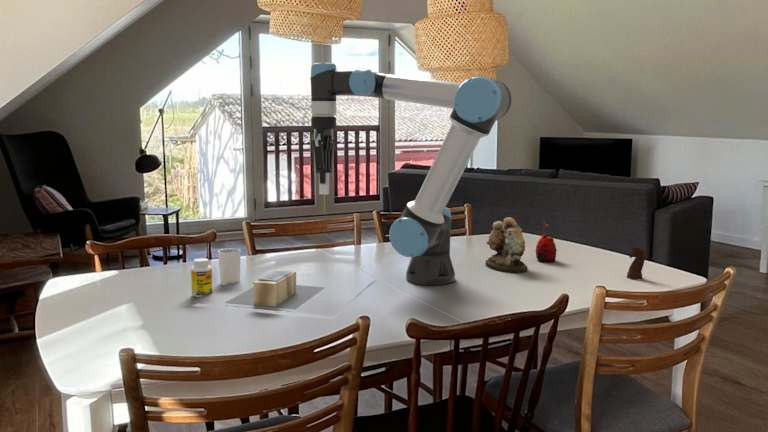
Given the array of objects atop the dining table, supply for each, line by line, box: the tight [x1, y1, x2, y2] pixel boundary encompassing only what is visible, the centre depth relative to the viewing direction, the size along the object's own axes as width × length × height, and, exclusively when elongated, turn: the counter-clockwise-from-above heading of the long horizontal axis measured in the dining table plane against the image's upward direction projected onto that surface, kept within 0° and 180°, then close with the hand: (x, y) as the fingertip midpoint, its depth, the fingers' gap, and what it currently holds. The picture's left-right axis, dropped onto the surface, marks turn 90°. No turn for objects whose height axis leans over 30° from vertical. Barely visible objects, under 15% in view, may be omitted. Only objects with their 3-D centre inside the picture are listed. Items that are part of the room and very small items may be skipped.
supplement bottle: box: [190, 257, 213, 298], centre depth 177 cm, size 6×6×10 cm
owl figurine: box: [485, 216, 528, 274], centre depth 213 cm, size 18×12×17 cm, turn 28°
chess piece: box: [626, 246, 646, 280], centre depth 200 cm, size 5×5×10 cm
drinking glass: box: [217, 248, 242, 286], centre depth 190 cm, size 7×7×10 cm
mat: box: [224, 284, 326, 313], centre depth 176 cm, size 20×22×1 cm
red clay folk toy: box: [535, 220, 557, 263], centre depth 223 cm, size 8×7×15 cm
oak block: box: [253, 269, 297, 306], centre depth 172 cm, size 6×6×14 cm
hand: (324, 194), depth 193 cm, fingers closed
